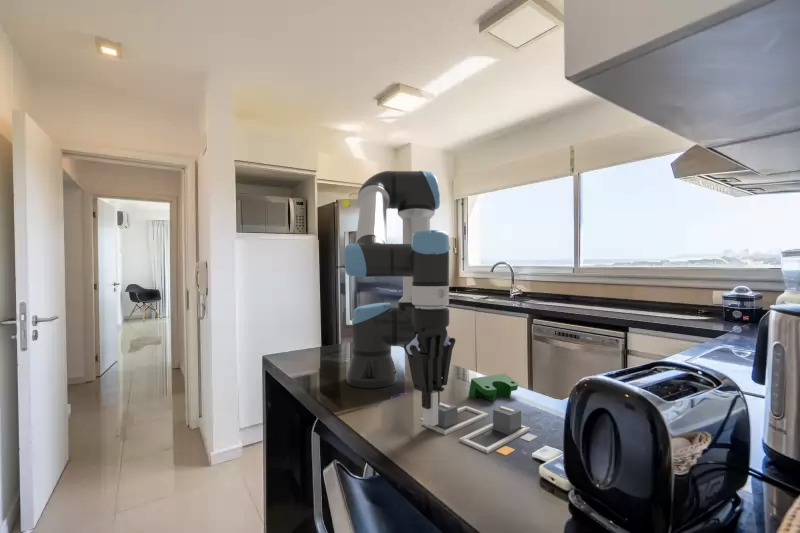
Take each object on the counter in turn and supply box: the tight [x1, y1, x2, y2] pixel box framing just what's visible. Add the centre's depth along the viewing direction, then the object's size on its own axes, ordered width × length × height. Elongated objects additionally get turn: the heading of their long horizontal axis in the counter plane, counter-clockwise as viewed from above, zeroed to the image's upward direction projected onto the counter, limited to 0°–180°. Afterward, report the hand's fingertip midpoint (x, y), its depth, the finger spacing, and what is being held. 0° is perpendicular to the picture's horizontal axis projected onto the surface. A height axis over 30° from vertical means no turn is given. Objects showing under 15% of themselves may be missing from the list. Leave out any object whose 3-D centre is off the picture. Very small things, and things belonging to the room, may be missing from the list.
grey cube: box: [492, 404, 522, 436], centre depth 76 cm, size 4×4×4 cm
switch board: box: [419, 405, 539, 457], centre depth 78 cm, size 24×18×2 cm
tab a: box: [435, 401, 459, 430], centre depth 79 cm, size 4×4×4 cm
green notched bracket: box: [468, 373, 519, 402], centre depth 97 cm, size 12×6×9 cm, turn 111°
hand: (430, 422), depth 76 cm, fingers closed
